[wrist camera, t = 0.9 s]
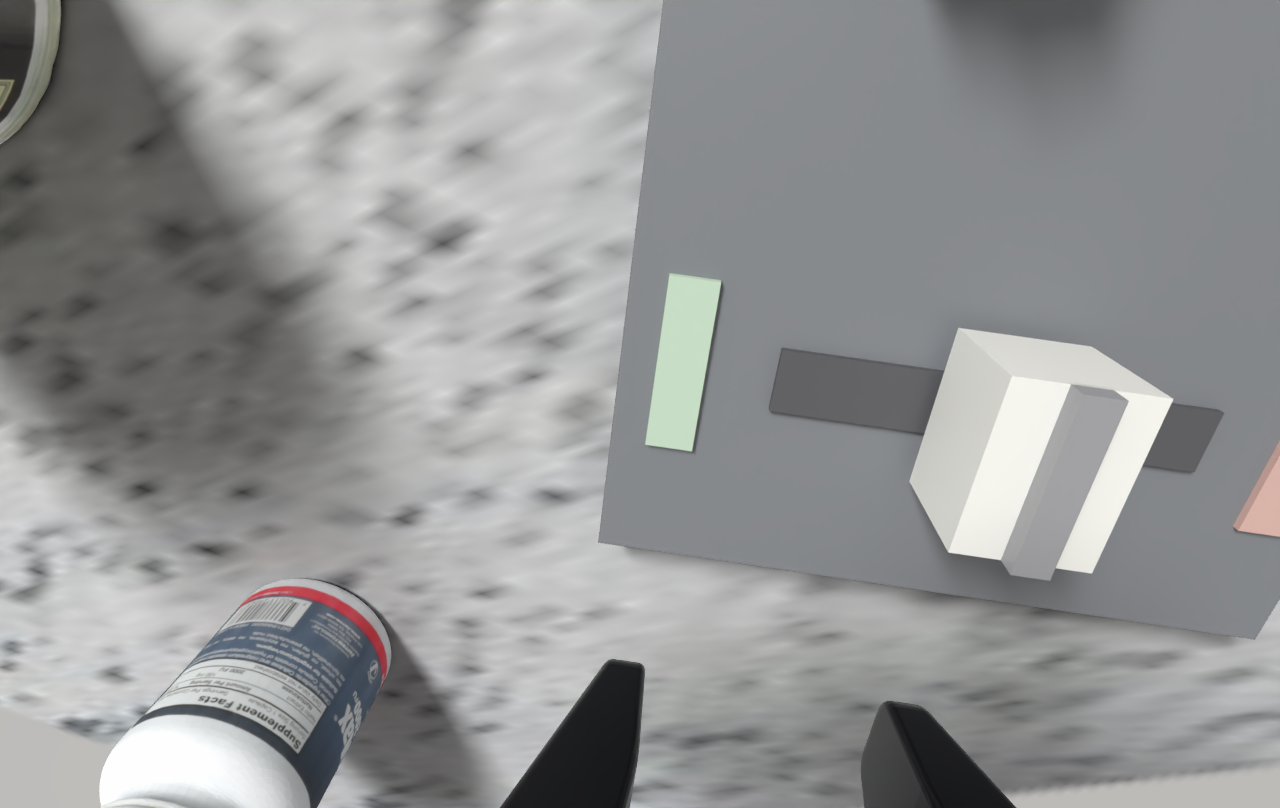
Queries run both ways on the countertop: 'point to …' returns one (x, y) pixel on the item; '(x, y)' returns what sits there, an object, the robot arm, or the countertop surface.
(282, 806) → the pill bottle
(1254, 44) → the panel
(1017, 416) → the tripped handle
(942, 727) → the robot arm
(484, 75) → the countertop surface
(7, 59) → the coffee can
